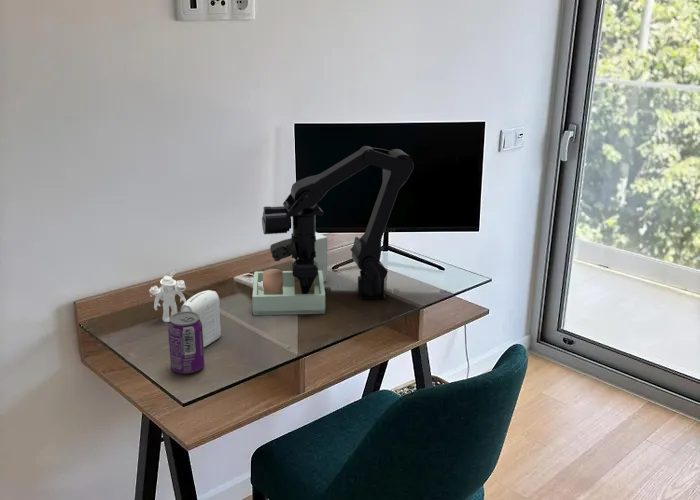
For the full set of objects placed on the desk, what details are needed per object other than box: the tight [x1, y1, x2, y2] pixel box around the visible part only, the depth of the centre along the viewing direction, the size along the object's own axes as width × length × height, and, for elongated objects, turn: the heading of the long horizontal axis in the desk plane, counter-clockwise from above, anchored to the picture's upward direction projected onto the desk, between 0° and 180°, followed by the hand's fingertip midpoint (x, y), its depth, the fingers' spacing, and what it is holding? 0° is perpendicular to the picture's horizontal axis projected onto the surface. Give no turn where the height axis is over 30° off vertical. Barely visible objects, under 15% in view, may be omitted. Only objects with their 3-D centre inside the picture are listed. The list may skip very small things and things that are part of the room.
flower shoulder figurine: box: [148, 269, 187, 323], centre depth 176 cm, size 9×4×12 cm, turn 127°
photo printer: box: [180, 289, 222, 348], centre depth 165 cm, size 10×4×12 cm, turn 151°
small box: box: [292, 231, 328, 282], centre depth 201 cm, size 8×6×13 cm
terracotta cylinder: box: [263, 268, 283, 295], centre depth 188 cm, size 5×5×7 cm
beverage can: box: [167, 311, 205, 375], centre depth 155 cm, size 7×7×12 cm
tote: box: [251, 270, 326, 316], centre depth 189 cm, size 18×16×5 cm
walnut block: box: [294, 277, 314, 294], centre depth 189 cm, size 5×5×5 cm
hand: (304, 288), depth 189 cm, fingers open, 9 cm apart
